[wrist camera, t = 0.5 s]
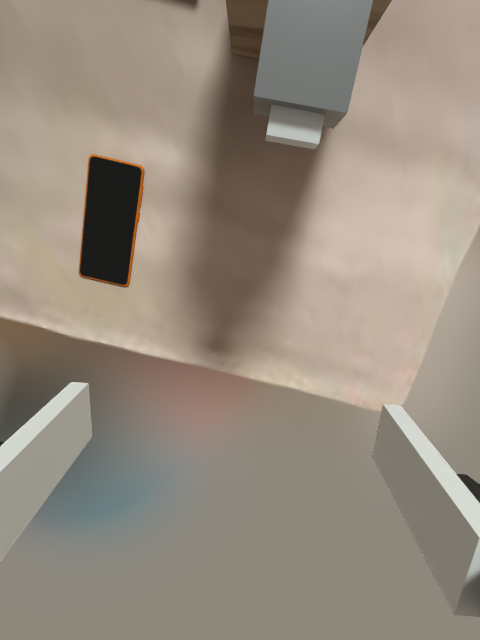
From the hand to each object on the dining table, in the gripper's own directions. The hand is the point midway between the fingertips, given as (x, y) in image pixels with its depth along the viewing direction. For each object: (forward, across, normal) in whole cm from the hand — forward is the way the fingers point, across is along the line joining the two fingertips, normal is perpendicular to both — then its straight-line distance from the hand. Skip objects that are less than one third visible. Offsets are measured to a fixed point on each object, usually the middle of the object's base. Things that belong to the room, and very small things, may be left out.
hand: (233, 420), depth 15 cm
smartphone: (+36, -19, +7) cm, 41 cm away
